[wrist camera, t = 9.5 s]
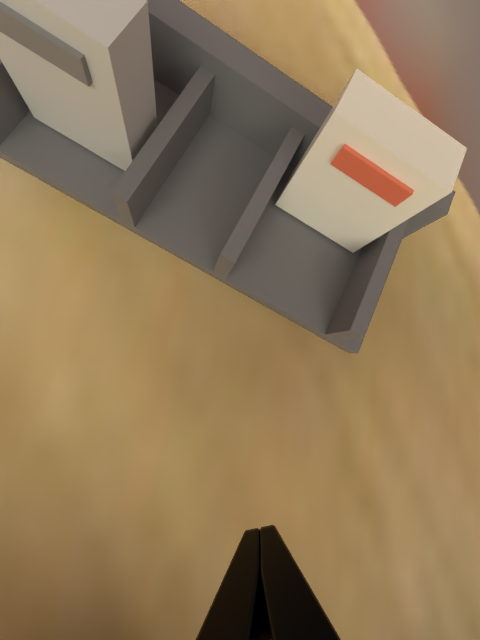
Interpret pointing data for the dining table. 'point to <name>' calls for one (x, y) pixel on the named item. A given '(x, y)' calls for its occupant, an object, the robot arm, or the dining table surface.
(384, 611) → the dining table surface
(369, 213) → the cream block
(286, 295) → the grey compartment tray
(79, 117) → the white box
